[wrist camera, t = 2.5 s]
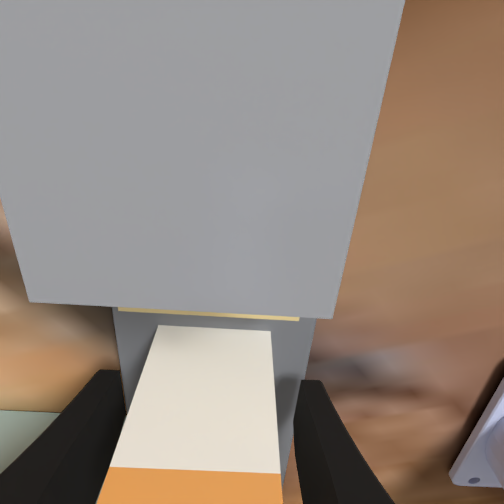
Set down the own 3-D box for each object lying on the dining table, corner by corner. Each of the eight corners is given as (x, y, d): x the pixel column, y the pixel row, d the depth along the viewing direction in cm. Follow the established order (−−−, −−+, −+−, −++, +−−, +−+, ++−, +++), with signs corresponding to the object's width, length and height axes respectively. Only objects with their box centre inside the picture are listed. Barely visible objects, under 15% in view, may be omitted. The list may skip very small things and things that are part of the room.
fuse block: (403, -191, 7) (500, -348, 4) (266, 539, 20) (269, 612, 17) (58, -228, 7) (-73, -421, 4) (152, 535, 20) (137, 608, 17)
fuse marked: (270, 331, 12) (284, 527, 7) (260, 412, 13) (265, 612, 9) (158, 325, 11) (90, 521, 7) (164, 408, 13) (114, 608, 8)
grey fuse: (313, -11, 7) (437, -144, 2) (289, 181, 9) (332, 318, 4) (135, -27, 7) (-112, -204, 2) (147, 171, 9) (29, 302, 4)
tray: (133, 416, 15) (113, 477, 13) (147, 527, 19) (134, 587, 17) (-118, 404, 15) (-183, 465, 12) (-45, 520, 19) (-84, 580, 17)
